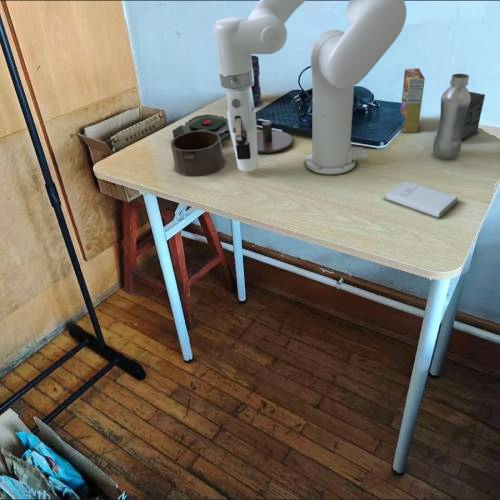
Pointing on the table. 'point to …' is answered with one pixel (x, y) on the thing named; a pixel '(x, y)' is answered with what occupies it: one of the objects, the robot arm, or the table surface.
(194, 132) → the two-handled cooking pot
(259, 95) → the storage jar
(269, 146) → the lid
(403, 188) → the hard drive
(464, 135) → the small box
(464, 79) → the plastic bottle
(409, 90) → the candy box
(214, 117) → the four-lobed dark green device
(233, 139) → the drinking glass
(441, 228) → the table surface
